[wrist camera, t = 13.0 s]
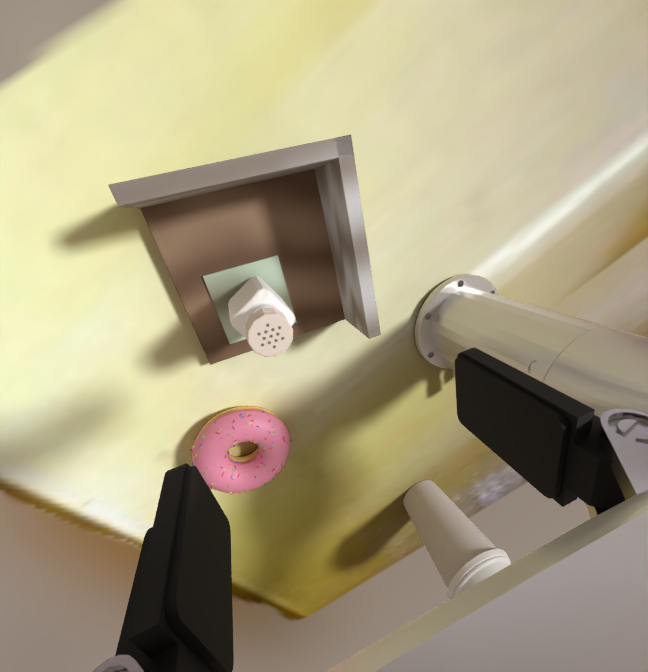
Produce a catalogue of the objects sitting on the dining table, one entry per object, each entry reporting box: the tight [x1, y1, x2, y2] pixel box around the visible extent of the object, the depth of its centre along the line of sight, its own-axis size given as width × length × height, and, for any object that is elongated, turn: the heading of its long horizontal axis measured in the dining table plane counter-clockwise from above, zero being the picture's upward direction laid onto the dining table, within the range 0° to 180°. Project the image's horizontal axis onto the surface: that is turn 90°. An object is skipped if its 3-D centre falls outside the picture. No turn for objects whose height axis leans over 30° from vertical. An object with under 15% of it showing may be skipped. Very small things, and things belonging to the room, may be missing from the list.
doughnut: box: [191, 406, 291, 494], centre depth 34 cm, size 11×11×4 cm
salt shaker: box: [228, 276, 295, 357], centre depth 25 cm, size 4×4×10 cm
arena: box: [109, 135, 381, 365], centre depth 26 cm, size 16×16×7 cm
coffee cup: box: [403, 480, 511, 599], centre depth 44 cm, size 10×10×15 cm
